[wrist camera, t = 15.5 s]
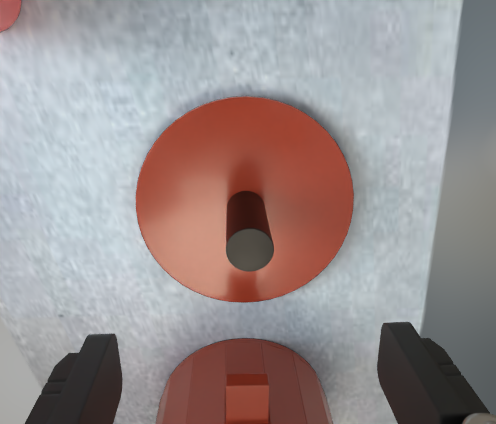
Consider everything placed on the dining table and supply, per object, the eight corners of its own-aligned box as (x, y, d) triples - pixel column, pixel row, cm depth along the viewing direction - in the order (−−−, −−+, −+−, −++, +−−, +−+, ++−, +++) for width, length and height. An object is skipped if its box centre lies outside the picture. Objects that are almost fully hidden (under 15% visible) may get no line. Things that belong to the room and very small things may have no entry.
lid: (146, 295, 30) (123, 364, 24) (130, 94, 26) (95, 110, 19) (340, 293, 31) (370, 360, 24) (359, 95, 26) (403, 111, 20)
